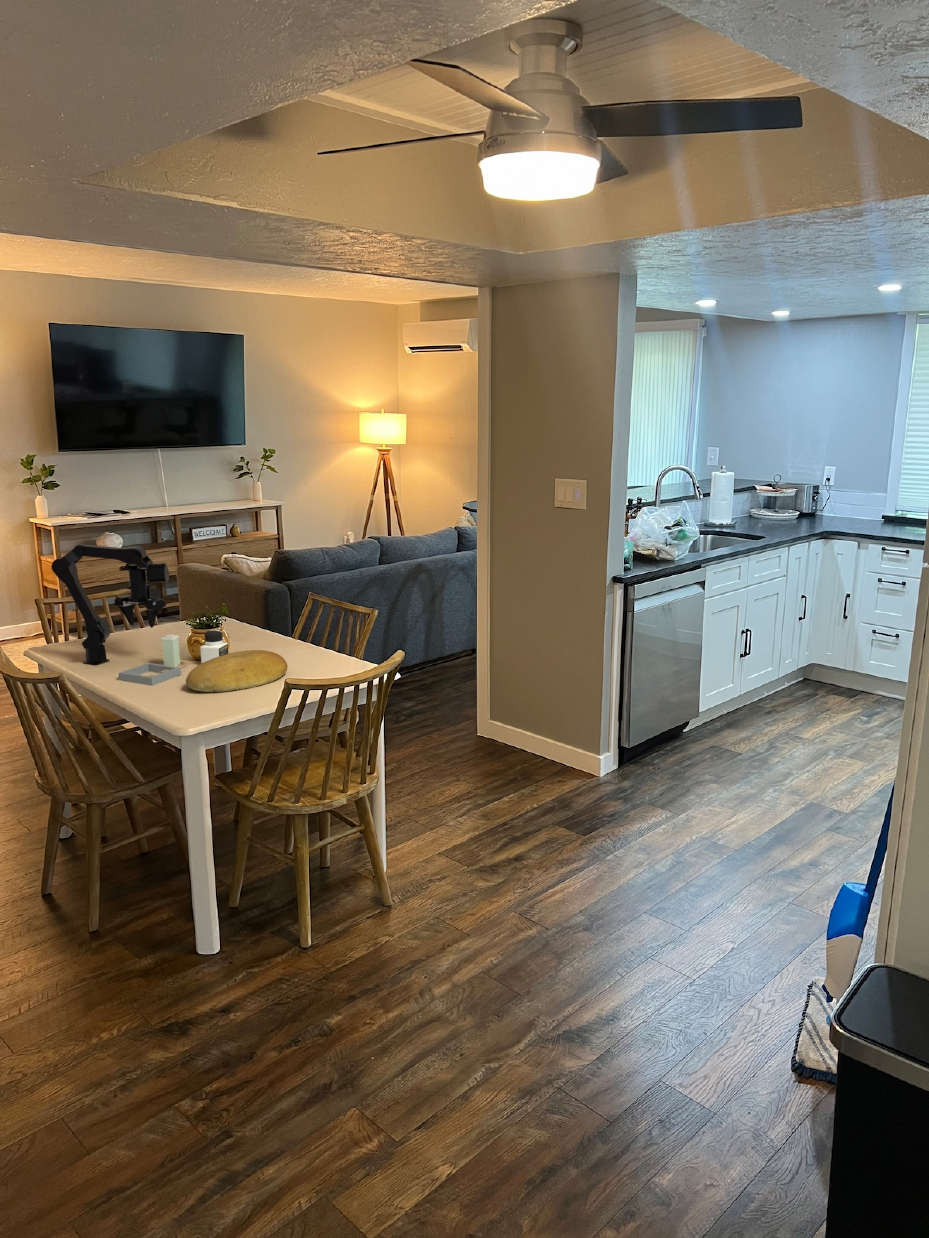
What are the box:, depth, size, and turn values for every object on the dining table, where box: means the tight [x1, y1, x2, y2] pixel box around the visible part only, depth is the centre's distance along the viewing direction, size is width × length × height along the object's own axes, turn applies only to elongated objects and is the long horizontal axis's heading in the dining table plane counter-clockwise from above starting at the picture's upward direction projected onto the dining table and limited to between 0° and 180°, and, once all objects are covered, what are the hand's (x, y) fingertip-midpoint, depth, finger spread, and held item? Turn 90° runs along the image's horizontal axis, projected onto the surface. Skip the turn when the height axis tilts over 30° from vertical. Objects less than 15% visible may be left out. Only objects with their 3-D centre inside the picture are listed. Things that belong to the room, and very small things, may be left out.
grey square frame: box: [118, 662, 182, 686], centre depth 306 cm, size 14×13×2 cm
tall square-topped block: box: [160, 634, 181, 667], centre depth 318 cm, size 4×4×10 cm
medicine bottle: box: [200, 629, 229, 664], centre depth 321 cm, size 7×7×12 cm
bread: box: [185, 649, 288, 693], centre depth 300 cm, size 18×35×10 cm, turn 137°
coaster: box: [159, 661, 187, 669], centre depth 319 cm, size 10×10×1 cm
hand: (142, 626), depth 322 cm, fingers open, 9 cm apart
